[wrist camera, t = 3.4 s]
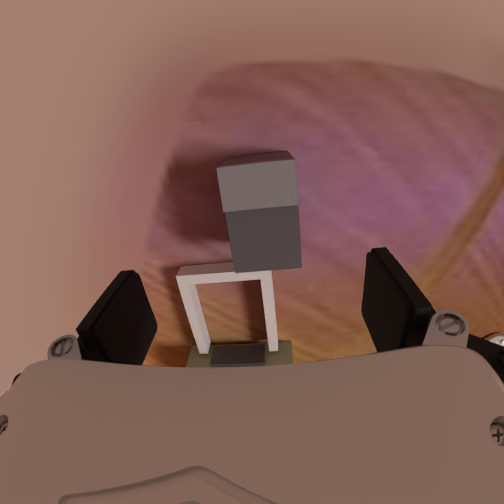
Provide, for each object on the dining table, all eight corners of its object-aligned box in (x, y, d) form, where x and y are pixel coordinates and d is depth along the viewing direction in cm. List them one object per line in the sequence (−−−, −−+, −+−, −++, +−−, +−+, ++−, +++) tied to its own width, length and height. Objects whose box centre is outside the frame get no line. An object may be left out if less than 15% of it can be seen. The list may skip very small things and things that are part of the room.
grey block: (287, 150, 23) (295, 159, 17) (294, 236, 26) (302, 271, 20) (229, 156, 23) (216, 168, 17) (241, 241, 27) (234, 277, 21)
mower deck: (285, 257, 27) (292, 316, 19) (293, 416, 39) (295, 463, 31) (167, 267, 28) (134, 322, 20) (220, 418, 40) (214, 463, 32)
